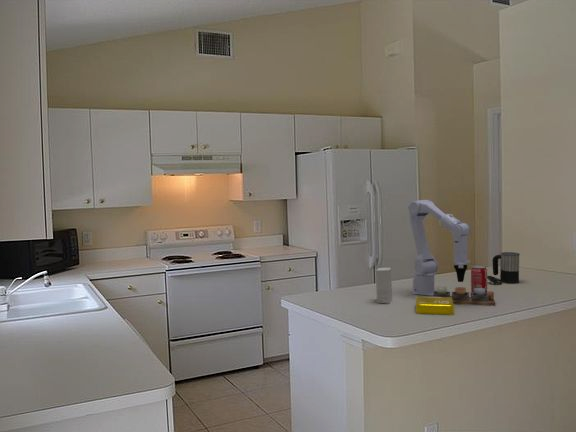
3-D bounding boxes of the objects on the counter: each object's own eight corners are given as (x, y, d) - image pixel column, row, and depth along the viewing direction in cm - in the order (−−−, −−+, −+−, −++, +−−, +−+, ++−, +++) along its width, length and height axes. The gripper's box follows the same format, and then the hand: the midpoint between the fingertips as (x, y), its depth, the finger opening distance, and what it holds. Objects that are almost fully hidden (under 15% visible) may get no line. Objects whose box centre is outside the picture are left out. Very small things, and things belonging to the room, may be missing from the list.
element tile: (452, 307, 240) (452, 296, 240) (454, 316, 226) (454, 304, 226) (416, 305, 244) (416, 295, 244) (415, 314, 229) (415, 303, 229)
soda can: (488, 296, 257) (488, 268, 256) (471, 295, 259) (472, 267, 258) (486, 292, 264) (486, 265, 263) (470, 292, 266) (470, 265, 264)
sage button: (436, 295, 249) (436, 288, 248) (436, 292, 253) (436, 286, 252) (446, 295, 247) (446, 288, 247) (446, 293, 252) (446, 286, 251)
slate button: (474, 296, 244) (474, 289, 244) (474, 294, 248) (474, 287, 248) (485, 296, 243) (485, 290, 243) (484, 294, 247) (484, 287, 247)
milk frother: (521, 281, 289) (521, 252, 288) (515, 287, 276) (515, 256, 274) (492, 278, 296) (492, 250, 295) (485, 284, 283) (485, 255, 282)
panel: (427, 302, 247) (427, 292, 247) (428, 297, 257) (428, 287, 256) (495, 305, 239) (495, 294, 239) (493, 300, 249) (493, 289, 249)
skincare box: (389, 303, 247) (389, 270, 245) (376, 303, 249) (375, 269, 247) (392, 299, 255) (392, 267, 253) (378, 299, 256) (378, 266, 255)
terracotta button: (455, 295, 246) (455, 288, 246) (455, 293, 251) (455, 286, 250) (465, 296, 245) (465, 289, 245) (465, 293, 249) (465, 287, 249)
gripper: (470, 253, 238) (470, 285, 239) (469, 248, 252) (469, 278, 253) (453, 253, 240) (453, 284, 241) (453, 248, 254) (453, 278, 255)
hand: (460, 281), depth 247 cm, fingers closed
